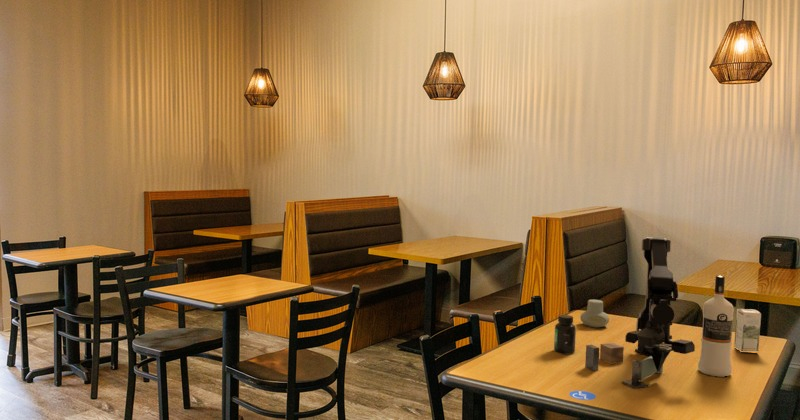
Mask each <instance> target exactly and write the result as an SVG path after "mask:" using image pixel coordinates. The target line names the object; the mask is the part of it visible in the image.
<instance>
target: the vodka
mask: <svg viewBox="0 0 800 420" xmlns="http://www.w3.org/2000/svg"><path fill="white" fill-rule="evenodd" d="M725 279H726V277H725V276H723V275H715V278H714V280H715V281H714V282H715V284H714V296H713V297H711V298H709V299H708V300H706V301H704V303H703V306H702V309H703V310H702V333H701V339H700V341H701V347H700V348H701V349H700V356H699V360H698V363H697V369H698V370H699V372H700V373H702V374H704V375H706V374H707V376H710V377H715V376H717V377H716V378H725V376H727V377H729V376H730V375H731V374H732V371H733V370H732V369H733V367H732V361H731V354H732V353H731V352H732V351H731V350H732V345H733V343H732V335H733V334H732V333H733V320H734V313H735V310H734V305H733V304H732V303H731V302H730V301H728V300H727V299H726V298H725V282H726V280H725Z"/></svg>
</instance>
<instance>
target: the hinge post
mask: <svg viewBox="0 0 800 420" xmlns="http://www.w3.org/2000/svg"><path fill="white" fill-rule="evenodd" d="M640 361H641V360H637V359H632V369H631V379H627V380H626V379H625V380H622V381H621V383H622V384H624V385H626V386H627V387H631V388H632V389H634V390H635V389H643V388H648V387H649V384H648V383H645V382H643V381H642V380H641V381H639V374H640Z"/></svg>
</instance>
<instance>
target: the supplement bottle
mask: <svg viewBox="0 0 800 420" xmlns="http://www.w3.org/2000/svg"><path fill="white" fill-rule="evenodd" d="M557 317H558V318H557V321H558V323H556V324H555V325H554V335H553V336H554V337H553V339H554V341H553V350H554V352H555V353H558V354H561V355H572V354H575V352H576V333H577V332H576V331H577V329H576V325H575V324H573V323H574V317H573V316H572V315H568V314H559V315H558V316H557Z"/></svg>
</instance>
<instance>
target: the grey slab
mask: <svg viewBox="0 0 800 420" xmlns="http://www.w3.org/2000/svg"><path fill="white" fill-rule="evenodd" d="M639 361H640V374H639V381H641V382H642V381H643V380H644V379H646V378H648V377H651V376H652V375H654V374H655V373H656V374H662V373H663V371H664V369H663V368H664V364H663V365H662V367H661V369H660V371H657V370H656V367H655V364H654V361H653V358H652V356H648V357H646V358H644V359H642V360H639Z"/></svg>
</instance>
